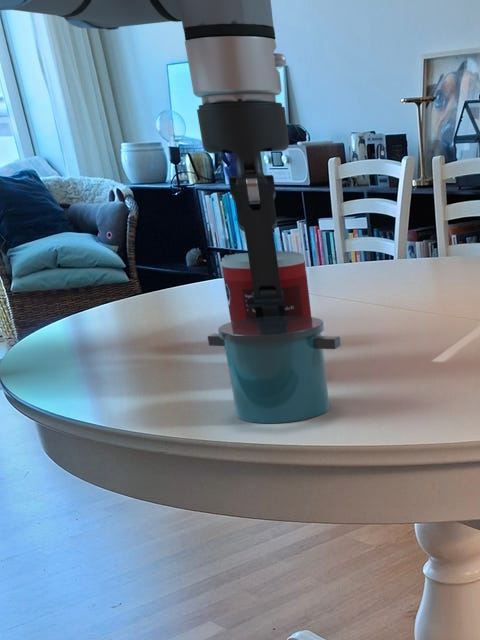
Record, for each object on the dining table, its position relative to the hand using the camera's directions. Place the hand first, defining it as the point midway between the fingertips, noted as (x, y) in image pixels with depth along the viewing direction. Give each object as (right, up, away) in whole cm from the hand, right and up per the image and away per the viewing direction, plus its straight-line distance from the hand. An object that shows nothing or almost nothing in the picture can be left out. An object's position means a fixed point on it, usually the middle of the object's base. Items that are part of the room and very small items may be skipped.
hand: (278, 367), depth 87 cm
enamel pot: (+3, -7, -11) cm, 14 cm away
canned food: (0, -1, 0) cm, 1 cm away
